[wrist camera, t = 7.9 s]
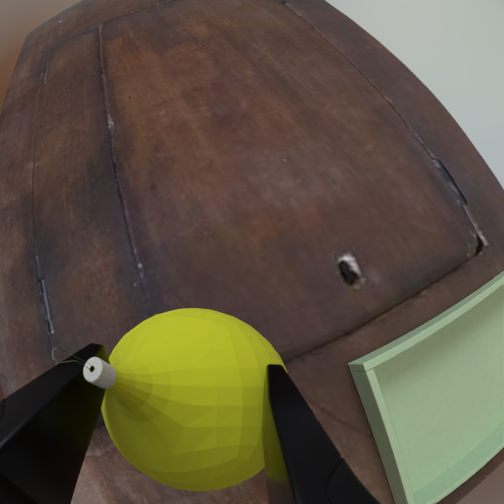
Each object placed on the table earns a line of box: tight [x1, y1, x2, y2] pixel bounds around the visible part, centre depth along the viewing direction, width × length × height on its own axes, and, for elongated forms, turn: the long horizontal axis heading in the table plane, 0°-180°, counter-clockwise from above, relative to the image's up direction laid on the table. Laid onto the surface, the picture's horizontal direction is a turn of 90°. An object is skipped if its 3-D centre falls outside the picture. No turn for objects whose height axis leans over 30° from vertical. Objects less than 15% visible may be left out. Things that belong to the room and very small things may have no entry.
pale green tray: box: [348, 271, 504, 504], centre depth 18 cm, size 14×23×3 cm, turn 110°
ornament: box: [52, 308, 288, 492], centre depth 9 cm, size 7×7×10 cm
